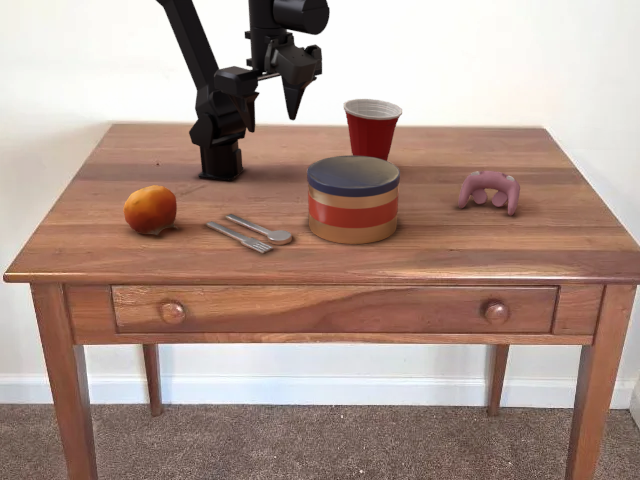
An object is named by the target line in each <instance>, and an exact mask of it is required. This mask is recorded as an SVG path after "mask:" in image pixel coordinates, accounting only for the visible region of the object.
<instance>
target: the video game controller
mask: <svg viewBox="0 0 640 480" xmlns="http://www.w3.org/2000/svg"><path fill="white" fill-rule="evenodd" d="M486 190H495V191H496V192H495V193H494V194H493V195H492V197H491V202H492V205H493V206H494V207H496V208H502V207H504V206H505V205H506V203H507V214H508V216H513V215H514V214H515V212H516V210H517V207H518V203H519V199H520V193H521V192H520V191H521V184H520V183H519V181H518V180H517V179H516V178H514V177H513V176H511V175H509V174H507V173H504V172H500V171H495V170H481V171H480V170H479V171H473V172H471V173H469V174H468V175H467V176H466V177H465V178H464V180H463V182H462V185H461V188H460V191H459V195H458V202H457V203H458V207H459V209H463V208H464V207H466V205H467V203H468V202H469V200H470V197H471V196H472V198H473V201H474V202H475V203H476V204H478V205H484V204H486V202H487V201H488V194H487V192H486Z"/></svg>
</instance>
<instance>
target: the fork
mask: <svg viewBox="0 0 640 480" xmlns="http://www.w3.org/2000/svg"><path fill="white" fill-rule="evenodd" d="M205 226H206V227H207V228H210V229H211V230H214V231H216V232H217V233H220V234H222V235H225V236H227V237H230V238H231V239H233V240H236V241H237V242H240V244H241V246H244V247H246V248H249V249H251V250H253V251H255V252H258V253H260V254H261V255H263V254H265V253H268V252H270V251H272V250H274V246H272V245H269V244H267V243H265V242H262V241H261V240H259V239H257V238H254V237H249V236H246V235H244V234H242V233H239V232H237V231H235V230H233V229H230V228H228V227H227V226H223V225H221V224H219V223H217V222H214V221H213V220H211V221H209V222H206V223H205Z"/></svg>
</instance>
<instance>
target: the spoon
mask: <svg viewBox="0 0 640 480" xmlns="http://www.w3.org/2000/svg"><path fill="white" fill-rule="evenodd" d="M225 219H226V220H228V221H230V222H233V223H235V224H237V225H240V226H242V227H244V228H246V229H249V230H250V231H253V232H255V233H258V234H260V235H262V236H265V237H267V242H268V243H270V244H272V245H276V246H277V245H278V246H281V245H287V244H289V243H290V242H291V241H292V232H290V231H288V230H284V229H278V230H277V229H276V230H270V229H267V228H265V227H263V226H260V225H259V224H256V223H254V222H251V221H249V220H247V219H244V218H242V217H240V216H237V215H235V214H233V213H230V214H227V215H225Z"/></svg>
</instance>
